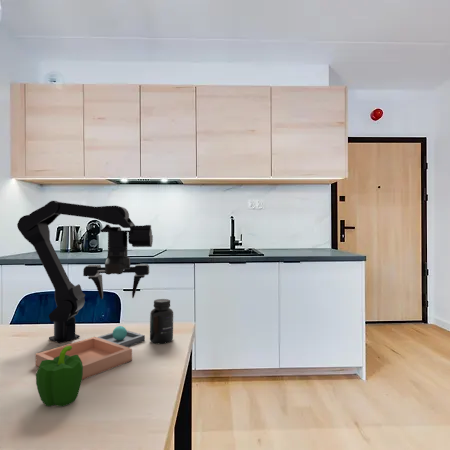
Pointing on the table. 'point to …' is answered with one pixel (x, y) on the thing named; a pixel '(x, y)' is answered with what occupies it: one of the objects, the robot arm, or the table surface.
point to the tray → (128, 340)
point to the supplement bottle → (161, 322)
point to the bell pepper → (59, 379)
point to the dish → (92, 355)
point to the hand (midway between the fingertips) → (117, 298)
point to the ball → (119, 333)
